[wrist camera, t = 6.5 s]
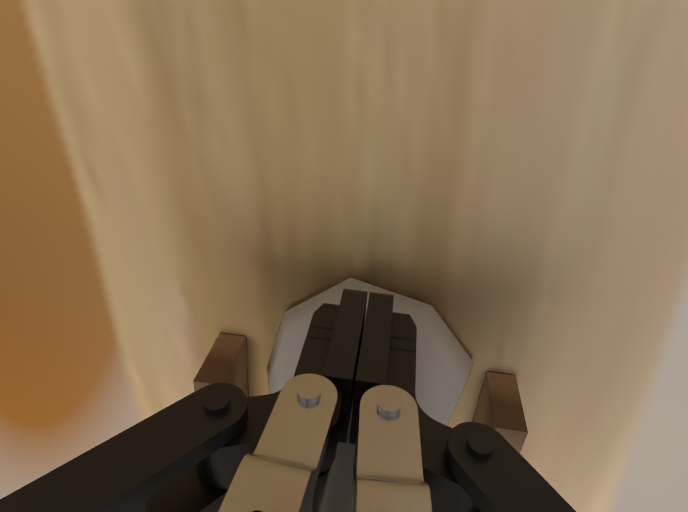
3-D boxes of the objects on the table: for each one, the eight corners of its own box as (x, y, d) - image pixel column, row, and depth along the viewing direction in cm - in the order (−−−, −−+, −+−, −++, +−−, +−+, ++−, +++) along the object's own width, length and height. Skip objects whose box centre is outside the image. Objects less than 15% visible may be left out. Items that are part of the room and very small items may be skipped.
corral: (219, 332, 18) (193, 381, 16) (515, 375, 17) (527, 432, 15) (236, 514, 25) (219, 565, 23) (455, 552, 24) (458, 610, 22)
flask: (345, 239, 16) (252, 568, 7) (510, 356, 17) (595, 744, 9) (238, 362, 19) (89, 680, 11) (382, 450, 21) (353, 791, 12)
